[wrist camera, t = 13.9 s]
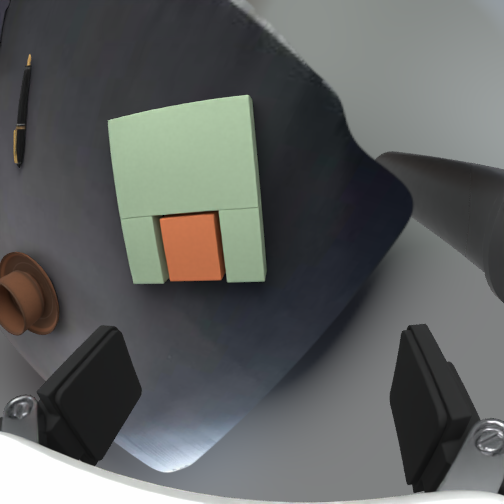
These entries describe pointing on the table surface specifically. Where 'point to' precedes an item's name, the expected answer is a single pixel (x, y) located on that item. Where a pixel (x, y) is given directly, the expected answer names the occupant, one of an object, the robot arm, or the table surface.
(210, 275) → the orange block
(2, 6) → the calculator
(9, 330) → the cup and saucer
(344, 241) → the table surface
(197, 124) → the base pad
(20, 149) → the fountain pen
